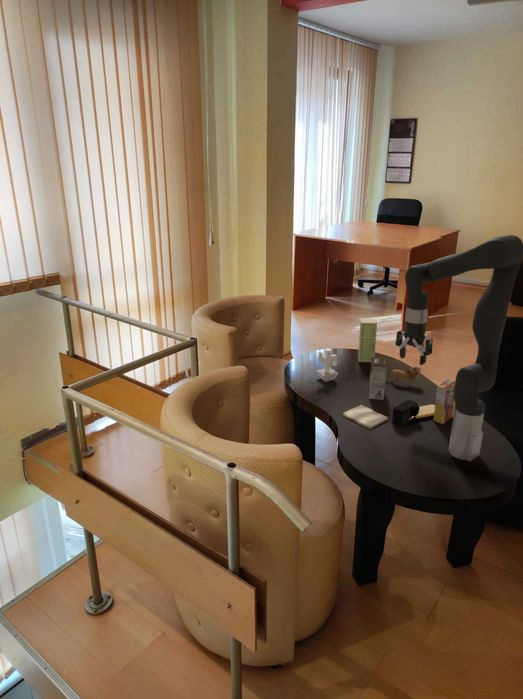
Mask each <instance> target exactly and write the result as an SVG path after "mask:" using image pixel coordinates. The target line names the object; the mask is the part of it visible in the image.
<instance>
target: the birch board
mask: <svg viewBox="0 0 523 699" xmlns="http://www.w3.org/2000/svg"><path fill="white" fill-rule="evenodd" d="M342 416H344V417H345V418H347V419H349V420H351V421H353V422H355V423H356V424H359V425H361V426H362V427H365V428H367V429H368V430H371V429H373V428H375V427H377V426H379V425H381V424H383V423H385V422H387V421H389V417H388V416H386V415H383V414H382V413H379V412H378V411H375V410H373V409H371V408H369V407H367V406H365V405H363V404H360V405H357V406H356V407H352V408H351V409H348V410H347V411H343V412H342Z"/></svg>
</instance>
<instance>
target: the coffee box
mask: <svg viewBox="0 0 523 699" xmlns="http://www.w3.org/2000/svg"><path fill="white" fill-rule="evenodd" d="M387 359H388V358H387V357H384V356H383V357H382V356H380V357H379V356H375V357H372V361H371V362H370V363H371V364H370V373H369V374H370V375H369V390H368V391H369V394H368V398H369V399H370V400H380V401H381V400H382V401H384V400H385V391H386V381H387V380H386V379H387V370H388V369H387V366H388V362H387V361H388V360H387Z"/></svg>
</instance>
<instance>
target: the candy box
mask: <svg viewBox="0 0 523 699" xmlns="http://www.w3.org/2000/svg"><path fill="white" fill-rule="evenodd" d="M455 381H456V380H453V379H449V378H448V379H446V380H444V382H443V381H442V382H441V383H440V384H438V385H437V387H436V394H435V401H434V402H435V403H434V413H433V421H434V422H436V423H439V424H441V425H444V424H445V423H446V422H447V421H449V420H450V419H453V417H454V411H455V400H454V392H455Z"/></svg>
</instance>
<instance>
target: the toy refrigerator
mask: <svg viewBox="0 0 523 699" xmlns="http://www.w3.org/2000/svg"><path fill="white" fill-rule="evenodd" d="M377 330H378V320H377V318H366V317H365V318H364V317H361V318H360V321H359V338H358V339H359V340H358V341H359V342H358V356H357V357H358V362H359V363H371V361H372V357H376V345H377Z"/></svg>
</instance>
